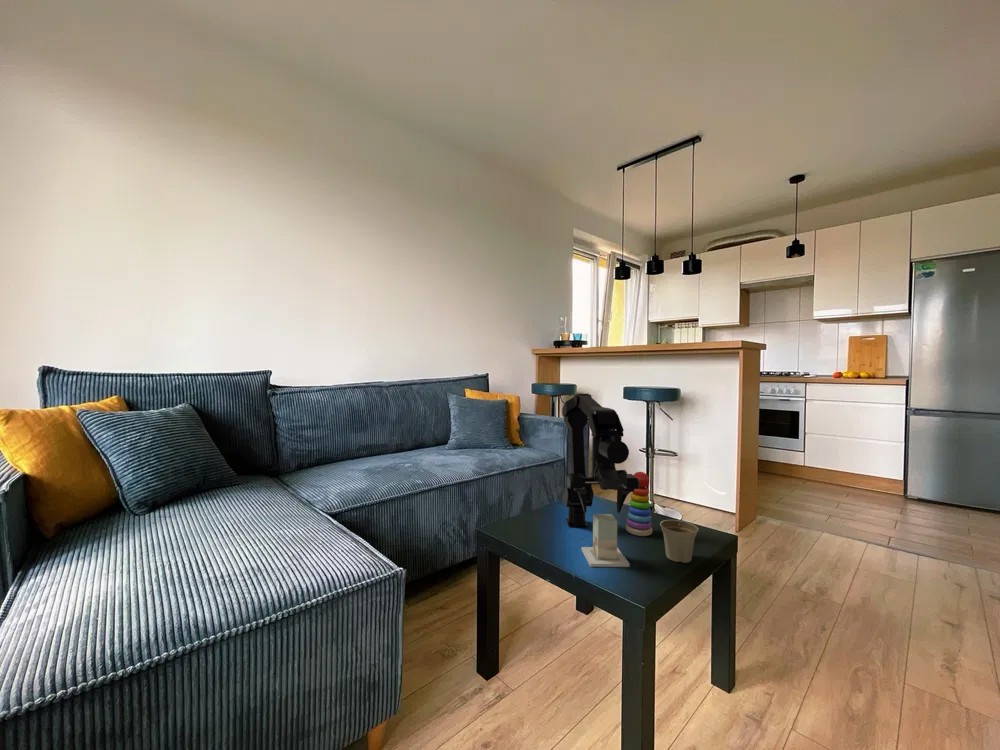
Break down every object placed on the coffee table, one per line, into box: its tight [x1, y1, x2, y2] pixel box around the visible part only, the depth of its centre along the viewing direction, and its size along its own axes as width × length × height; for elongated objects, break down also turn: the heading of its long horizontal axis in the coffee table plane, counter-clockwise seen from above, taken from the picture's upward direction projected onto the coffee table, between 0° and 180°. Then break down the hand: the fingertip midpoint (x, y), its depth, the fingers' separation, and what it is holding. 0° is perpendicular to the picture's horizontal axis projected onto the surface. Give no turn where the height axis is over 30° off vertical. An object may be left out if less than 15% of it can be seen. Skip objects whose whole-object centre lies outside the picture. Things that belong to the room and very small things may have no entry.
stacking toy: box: [625, 471, 654, 537], centre depth 127 cm, size 8×8×19 cm
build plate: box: [581, 546, 631, 568], centre depth 108 cm, size 10×10×1 cm
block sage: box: [592, 513, 618, 541], centre depth 108 cm, size 5×5×5 cm
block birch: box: [592, 532, 618, 559], centre depth 108 cm, size 5×5×5 cm
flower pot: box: [659, 519, 699, 564], centre depth 109 cm, size 9×9×9 cm
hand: (601, 512), depth 111 cm, fingers open, 9 cm apart
